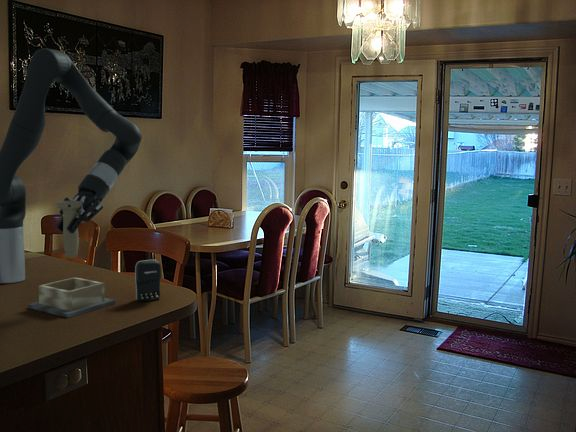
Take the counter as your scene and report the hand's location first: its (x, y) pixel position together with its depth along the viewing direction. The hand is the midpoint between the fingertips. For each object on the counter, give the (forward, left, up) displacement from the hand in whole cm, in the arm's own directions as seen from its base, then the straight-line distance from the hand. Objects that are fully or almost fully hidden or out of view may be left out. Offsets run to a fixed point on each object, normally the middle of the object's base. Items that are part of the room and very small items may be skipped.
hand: (64, 230), depth 161 cm
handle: (0, +2, -8) cm, 8 cm away
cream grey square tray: (0, +2, -21) cm, 21 cm away
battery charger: (+13, +18, -21) cm, 31 cm away
